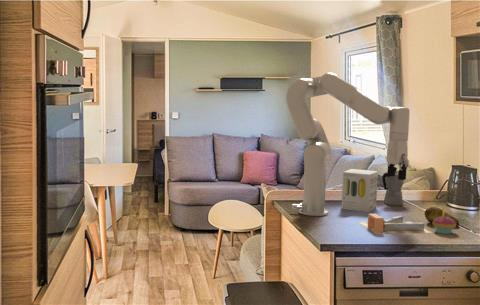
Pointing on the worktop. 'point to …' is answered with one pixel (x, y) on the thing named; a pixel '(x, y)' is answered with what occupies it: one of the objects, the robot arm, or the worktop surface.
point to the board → (394, 231)
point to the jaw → (394, 220)
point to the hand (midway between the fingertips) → (396, 177)
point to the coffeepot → (392, 189)
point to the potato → (438, 215)
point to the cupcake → (444, 224)
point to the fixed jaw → (403, 226)
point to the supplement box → (359, 190)
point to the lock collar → (375, 222)
